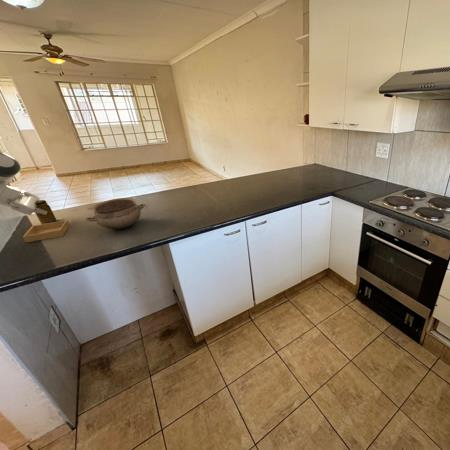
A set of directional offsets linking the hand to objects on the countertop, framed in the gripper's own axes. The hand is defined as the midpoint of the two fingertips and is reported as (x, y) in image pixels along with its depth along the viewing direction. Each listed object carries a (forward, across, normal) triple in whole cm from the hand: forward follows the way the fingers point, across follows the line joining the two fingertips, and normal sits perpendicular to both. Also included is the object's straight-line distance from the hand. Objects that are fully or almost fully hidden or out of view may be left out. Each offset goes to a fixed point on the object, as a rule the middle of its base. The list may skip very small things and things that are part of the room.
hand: (47, 210), depth 126 cm
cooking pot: (+25, -28, -15) cm, 40 cm away
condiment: (+4, 0, +5) cm, 7 cm away
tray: (+4, -14, +5) cm, 16 cm away
